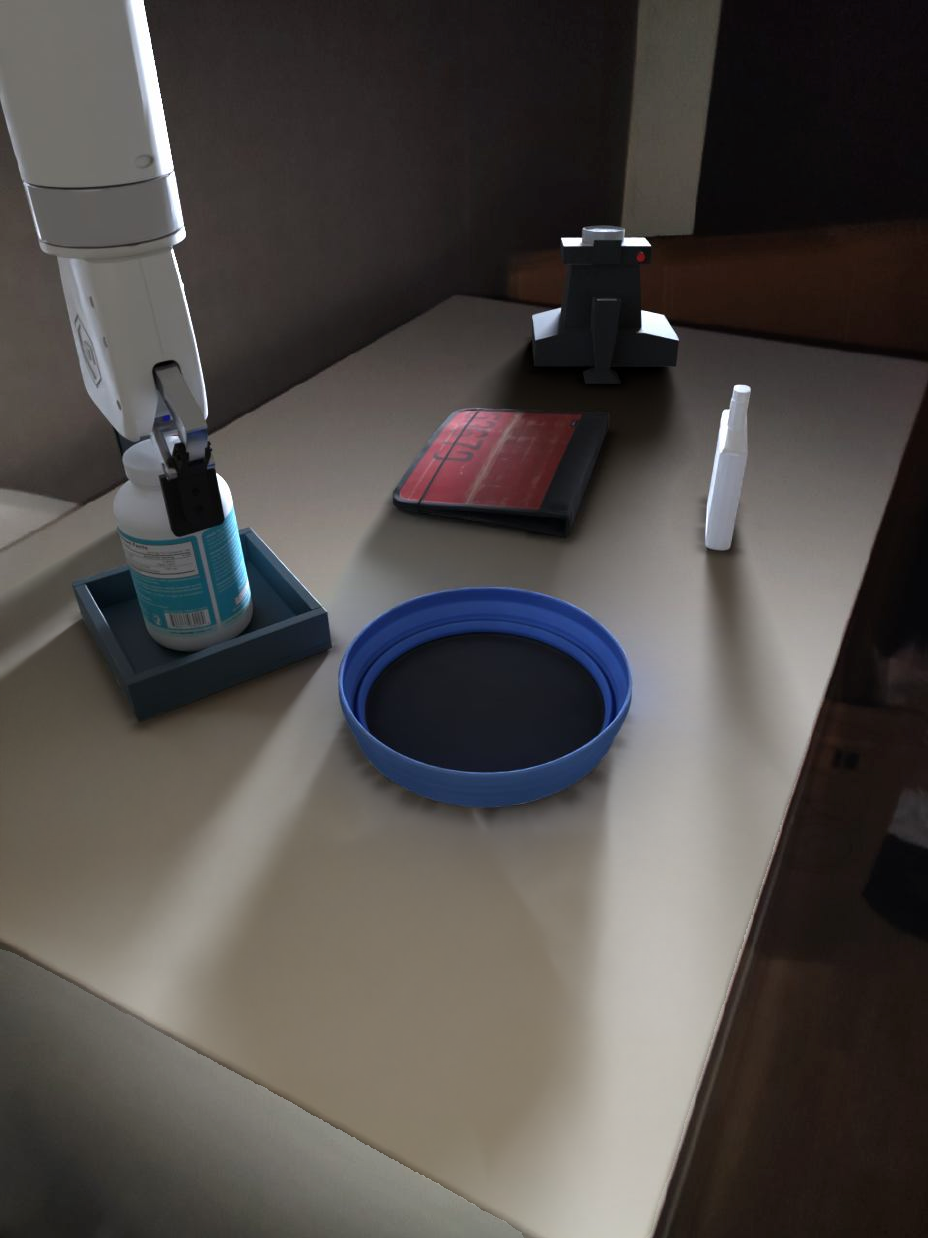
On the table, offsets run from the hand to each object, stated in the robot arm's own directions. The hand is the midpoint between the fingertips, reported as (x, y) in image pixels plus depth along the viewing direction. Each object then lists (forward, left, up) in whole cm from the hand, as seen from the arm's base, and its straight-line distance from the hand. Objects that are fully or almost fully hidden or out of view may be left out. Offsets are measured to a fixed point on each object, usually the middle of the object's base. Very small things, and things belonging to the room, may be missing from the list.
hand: (172, 496), depth 59 cm
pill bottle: (0, 0, -11) cm, 11 cm away
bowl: (+18, +12, -11) cm, 24 cm away
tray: (0, 0, -11) cm, 11 cm away
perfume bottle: (+10, +41, -11) cm, 44 cm away
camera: (-24, +57, -11) cm, 63 cm away
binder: (-8, +32, -11) cm, 35 cm away
